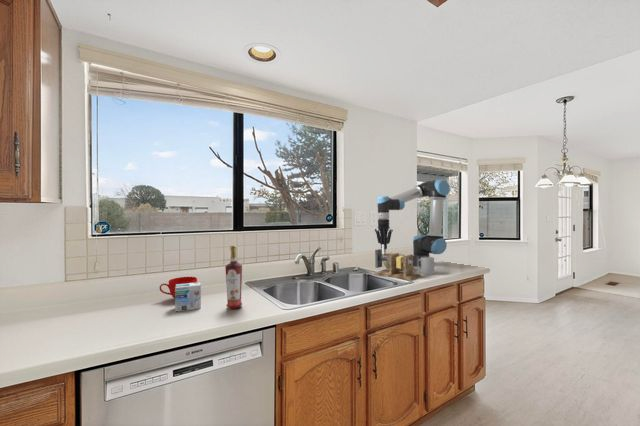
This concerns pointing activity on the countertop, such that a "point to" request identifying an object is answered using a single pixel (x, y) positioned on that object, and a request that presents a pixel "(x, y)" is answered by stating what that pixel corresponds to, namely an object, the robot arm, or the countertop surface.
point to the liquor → (233, 280)
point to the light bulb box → (187, 296)
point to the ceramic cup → (177, 281)
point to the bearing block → (395, 272)
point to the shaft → (384, 259)
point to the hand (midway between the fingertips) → (383, 253)
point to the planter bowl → (388, 261)
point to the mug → (426, 265)
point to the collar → (399, 262)
